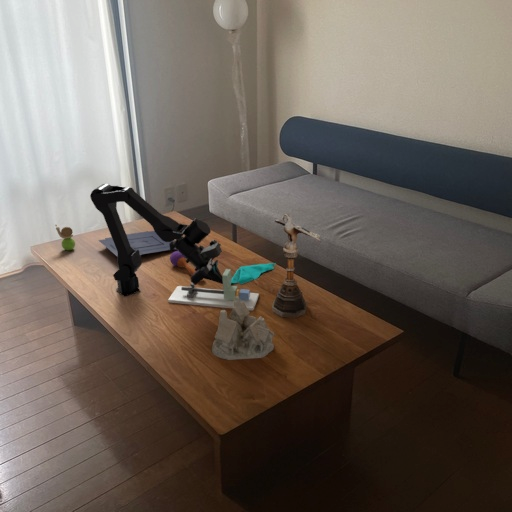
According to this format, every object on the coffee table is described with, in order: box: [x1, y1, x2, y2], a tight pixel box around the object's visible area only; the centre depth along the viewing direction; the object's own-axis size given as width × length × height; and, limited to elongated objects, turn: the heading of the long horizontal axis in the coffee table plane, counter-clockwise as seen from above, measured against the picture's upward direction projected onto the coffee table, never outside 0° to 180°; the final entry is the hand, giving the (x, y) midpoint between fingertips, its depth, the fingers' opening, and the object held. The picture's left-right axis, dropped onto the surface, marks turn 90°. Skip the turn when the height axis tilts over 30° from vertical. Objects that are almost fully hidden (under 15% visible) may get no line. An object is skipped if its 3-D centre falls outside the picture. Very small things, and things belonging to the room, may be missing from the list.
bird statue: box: [271, 213, 322, 319], centre depth 167 cm, size 17×13×35 cm
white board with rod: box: [167, 282, 260, 312], centre depth 178 cm, size 30×10×5 cm, turn 78°
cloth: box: [231, 262, 277, 285], centre depth 196 cm, size 26×14×2 cm, turn 123°
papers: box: [97, 230, 177, 257], centre depth 218 cm, size 24×30×4 cm
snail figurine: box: [54, 224, 76, 251], centre depth 215 cm, size 5×6×12 cm
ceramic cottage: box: [211, 296, 275, 361], centre depth 150 cm, size 16×16×15 cm
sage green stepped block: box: [221, 268, 238, 300], centre depth 175 cm, size 4×5×10 cm
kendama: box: [169, 250, 204, 282], centre depth 197 cm, size 6×6×20 cm
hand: (223, 282), depth 175 cm, fingers closed, pressing on sage green stepped block
